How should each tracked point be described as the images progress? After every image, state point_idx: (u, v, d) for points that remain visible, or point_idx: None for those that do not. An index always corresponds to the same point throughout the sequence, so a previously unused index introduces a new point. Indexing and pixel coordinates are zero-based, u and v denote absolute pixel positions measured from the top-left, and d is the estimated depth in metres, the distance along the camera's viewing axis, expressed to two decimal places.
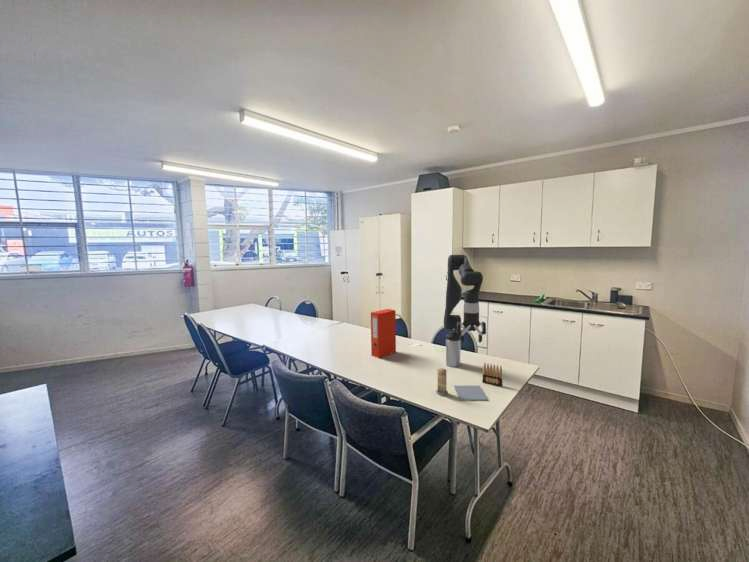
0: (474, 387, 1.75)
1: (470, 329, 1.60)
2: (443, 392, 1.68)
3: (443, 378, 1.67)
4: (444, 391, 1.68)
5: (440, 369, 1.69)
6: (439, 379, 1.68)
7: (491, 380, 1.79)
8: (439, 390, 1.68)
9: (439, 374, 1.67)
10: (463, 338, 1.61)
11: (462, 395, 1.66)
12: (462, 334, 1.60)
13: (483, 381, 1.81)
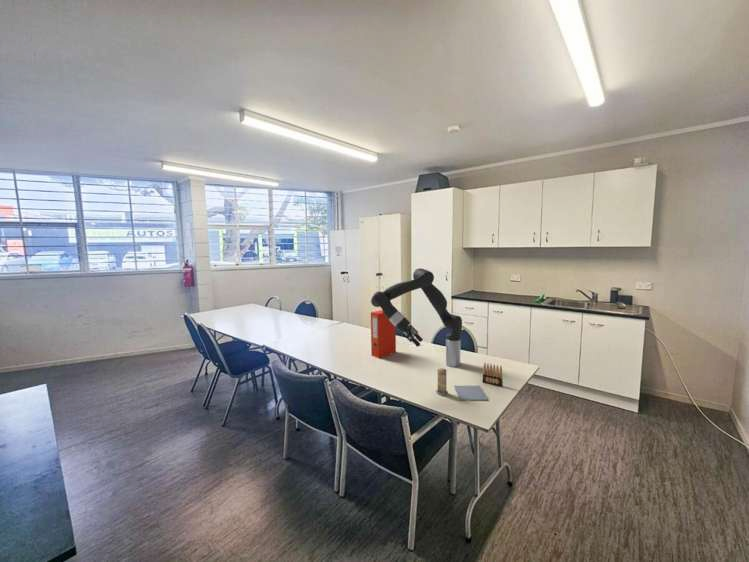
0: (474, 387, 1.75)
1: None
2: (443, 392, 1.68)
3: (443, 378, 1.67)
4: (444, 391, 1.68)
5: (440, 369, 1.69)
6: (439, 379, 1.68)
7: (491, 380, 1.79)
8: (439, 390, 1.68)
9: (439, 374, 1.67)
10: (417, 339, 1.75)
11: (462, 395, 1.66)
12: (414, 336, 1.76)
13: (483, 381, 1.81)
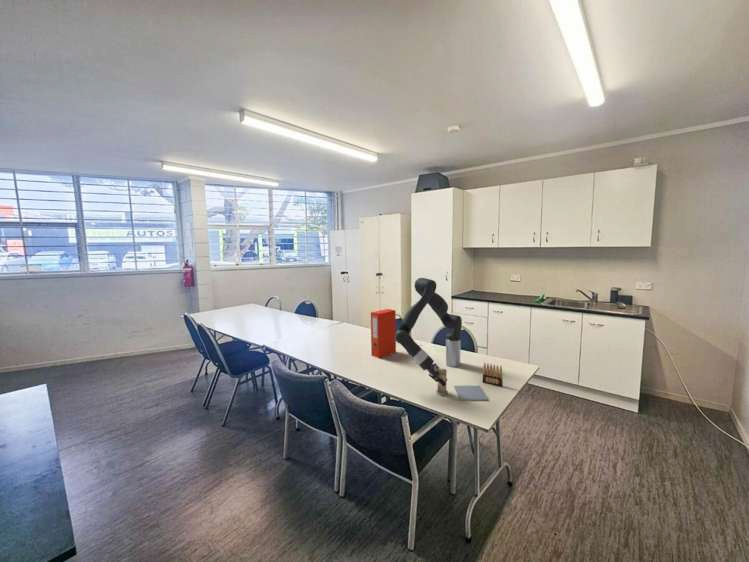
0: (474, 387, 1.75)
1: None
2: (443, 392, 1.68)
3: (443, 378, 1.67)
4: (444, 391, 1.68)
5: (440, 369, 1.69)
6: None
7: (491, 380, 1.79)
8: (439, 390, 1.68)
9: (439, 374, 1.67)
10: None
11: (462, 395, 1.66)
12: None
13: (483, 381, 1.81)
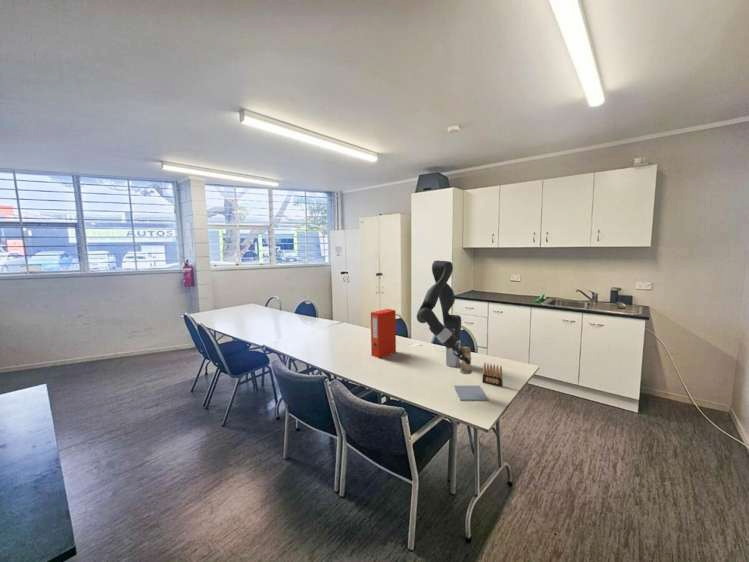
0: (474, 387, 1.75)
1: None
2: (467, 370, 1.66)
3: (468, 356, 1.65)
4: (468, 369, 1.66)
5: (464, 347, 1.67)
6: None
7: (491, 380, 1.79)
8: (463, 368, 1.67)
9: None
10: None
11: (462, 395, 1.66)
12: None
13: (483, 381, 1.81)
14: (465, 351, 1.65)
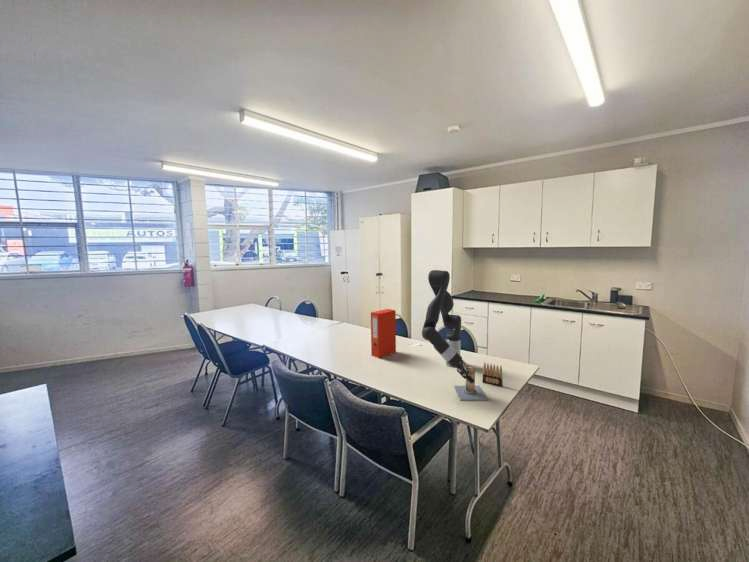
0: None
1: None
2: (472, 391, 1.67)
3: (472, 377, 1.66)
4: (472, 390, 1.67)
5: (468, 368, 1.68)
6: None
7: (491, 380, 1.79)
8: (468, 389, 1.67)
9: (468, 373, 1.66)
10: None
11: (462, 395, 1.66)
12: None
13: (483, 381, 1.81)
14: (469, 372, 1.66)
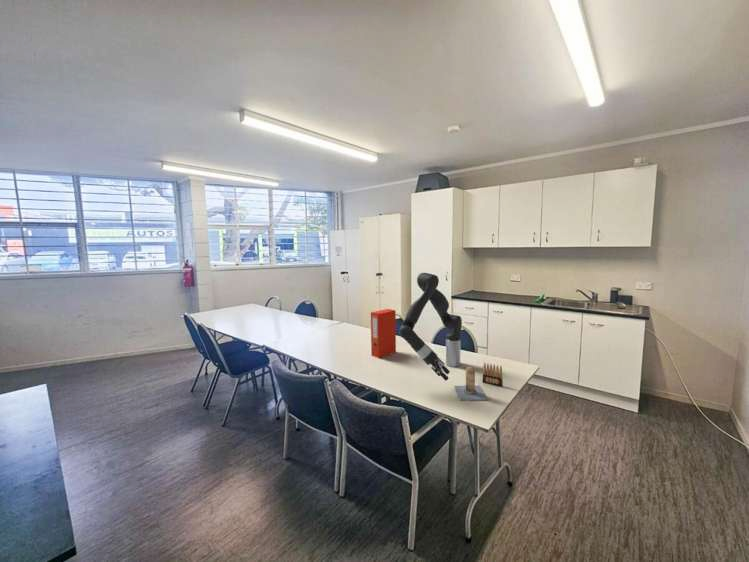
0: None
1: None
2: (472, 391, 1.67)
3: (472, 377, 1.66)
4: (472, 390, 1.67)
5: (468, 368, 1.68)
6: (468, 378, 1.67)
7: (491, 380, 1.79)
8: (467, 389, 1.67)
9: (468, 373, 1.66)
10: (444, 371, 1.76)
11: (462, 395, 1.66)
12: None
13: (483, 381, 1.81)
14: (469, 372, 1.66)
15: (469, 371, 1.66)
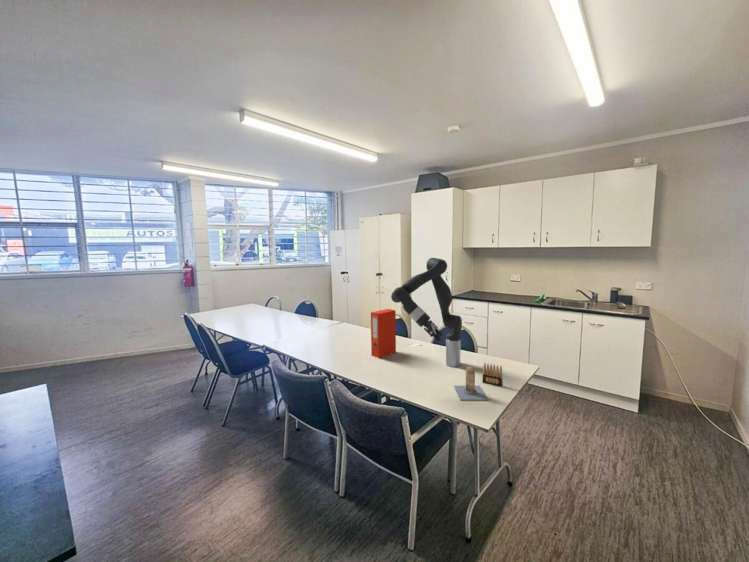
0: None
1: None
2: (472, 391, 1.67)
3: (472, 377, 1.66)
4: (472, 390, 1.67)
5: (468, 368, 1.68)
6: (468, 378, 1.67)
7: (491, 380, 1.79)
8: (467, 389, 1.67)
9: (468, 373, 1.66)
10: (437, 334, 1.77)
11: (462, 395, 1.66)
12: None
13: (483, 381, 1.81)
14: (469, 372, 1.66)
15: (469, 371, 1.66)
